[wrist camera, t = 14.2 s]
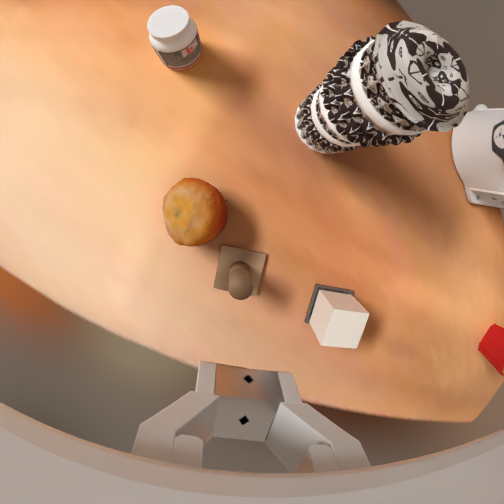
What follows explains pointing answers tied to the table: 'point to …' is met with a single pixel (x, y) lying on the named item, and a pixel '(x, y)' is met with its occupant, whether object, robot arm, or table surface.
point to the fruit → (194, 212)
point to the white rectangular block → (338, 319)
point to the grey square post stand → (315, 294)
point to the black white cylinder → (386, 92)
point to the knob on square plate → (239, 271)
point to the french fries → (494, 347)
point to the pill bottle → (174, 37)
